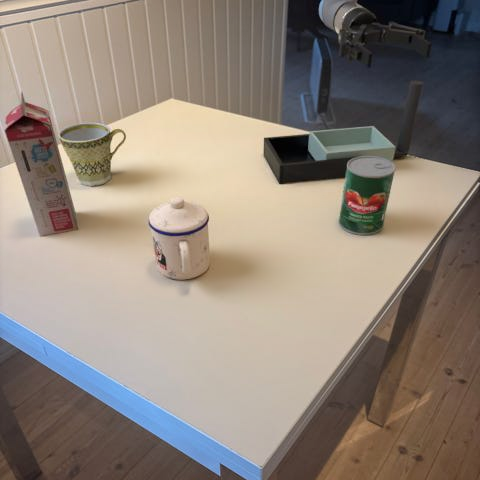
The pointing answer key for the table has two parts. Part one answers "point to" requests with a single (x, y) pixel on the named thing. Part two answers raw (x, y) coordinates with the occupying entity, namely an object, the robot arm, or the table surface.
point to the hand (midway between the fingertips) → (399, 55)
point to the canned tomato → (366, 194)
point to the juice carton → (40, 168)
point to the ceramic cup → (90, 151)
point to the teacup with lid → (180, 238)
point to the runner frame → (299, 161)
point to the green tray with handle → (367, 136)
